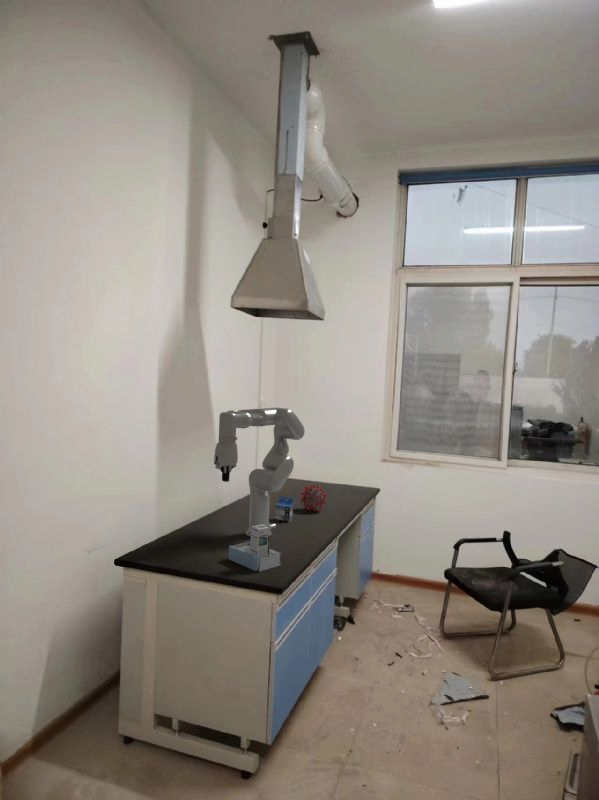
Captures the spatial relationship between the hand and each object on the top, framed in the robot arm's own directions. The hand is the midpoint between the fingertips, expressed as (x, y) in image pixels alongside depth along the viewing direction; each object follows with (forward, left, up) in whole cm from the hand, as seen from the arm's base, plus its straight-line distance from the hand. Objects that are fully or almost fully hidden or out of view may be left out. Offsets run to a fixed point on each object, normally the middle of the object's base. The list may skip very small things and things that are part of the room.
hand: (225, 481), depth 226 cm
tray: (+2, +24, -29) cm, 38 cm away
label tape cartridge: (-51, -15, -29) cm, 61 cm away
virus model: (-79, -20, -29) cm, 87 cm away
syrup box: (+2, +28, -28) cm, 40 cm away
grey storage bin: (+2, +24, -29) cm, 38 cm away
